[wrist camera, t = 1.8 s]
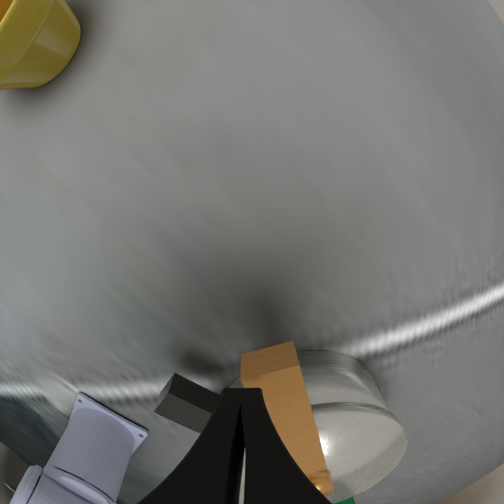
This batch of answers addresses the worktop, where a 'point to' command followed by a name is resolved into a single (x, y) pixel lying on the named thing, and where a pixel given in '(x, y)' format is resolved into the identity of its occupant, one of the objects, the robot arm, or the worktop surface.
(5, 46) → the plant pot
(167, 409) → the cooker pot
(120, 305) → the worktop surface
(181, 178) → the worktop surface
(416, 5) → the worktop surface
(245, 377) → the lid
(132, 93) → the worktop surface
